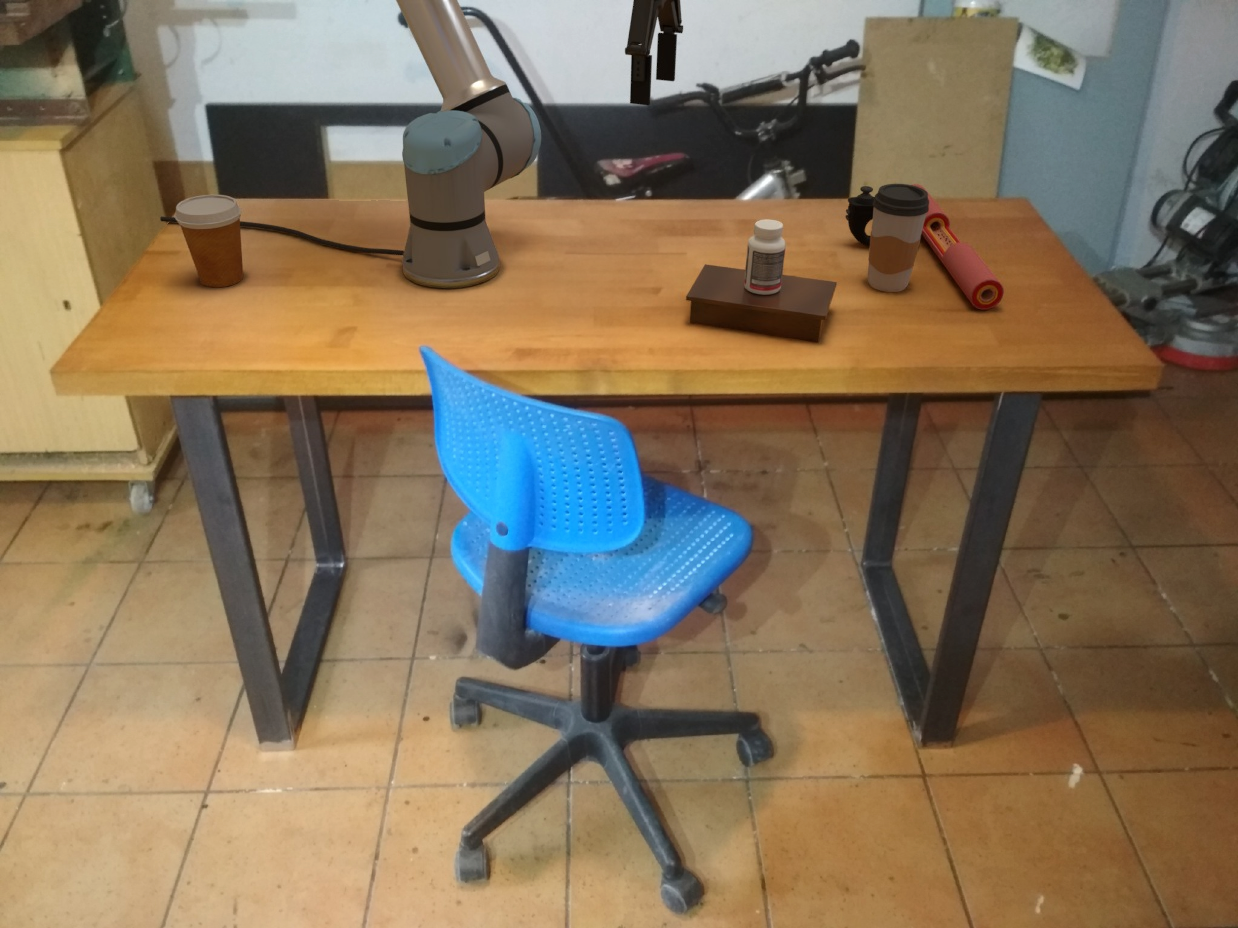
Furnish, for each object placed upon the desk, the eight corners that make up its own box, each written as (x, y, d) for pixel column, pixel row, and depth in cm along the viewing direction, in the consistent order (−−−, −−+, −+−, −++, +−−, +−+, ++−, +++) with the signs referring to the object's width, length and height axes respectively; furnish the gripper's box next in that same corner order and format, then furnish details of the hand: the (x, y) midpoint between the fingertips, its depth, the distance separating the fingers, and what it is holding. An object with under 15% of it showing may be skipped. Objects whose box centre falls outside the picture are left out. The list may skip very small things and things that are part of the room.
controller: (839, 240, 182) (847, 183, 177) (909, 239, 183) (919, 183, 178) (845, 250, 179) (853, 192, 173) (917, 249, 180) (927, 192, 174)
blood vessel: (896, 210, 195) (901, 183, 192) (923, 210, 195) (928, 183, 192) (967, 310, 160) (974, 279, 157) (1000, 310, 160) (1007, 279, 158)
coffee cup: (919, 279, 169) (936, 188, 161) (908, 299, 163) (925, 205, 155) (867, 269, 172) (882, 179, 164) (854, 289, 166) (868, 196, 157)
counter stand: (684, 324, 155) (686, 296, 152) (703, 291, 164) (705, 264, 162) (821, 344, 150) (825, 315, 148) (832, 309, 160) (836, 282, 157)
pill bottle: (788, 290, 154) (796, 226, 149) (760, 299, 152) (766, 234, 146) (764, 277, 158) (771, 214, 152) (736, 285, 155) (741, 221, 150)
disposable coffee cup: (265, 279, 165) (252, 204, 159) (209, 297, 159) (193, 221, 153) (233, 261, 171) (219, 189, 164) (178, 279, 165) (160, 204, 158)
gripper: (662, -57, 130) (655, 117, 142) (708, -82, 150) (698, 73, 162) (604, -61, 132) (601, 112, 144) (657, -85, 152) (651, 68, 164)
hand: (653, 92), depth 153 cm, fingers open, 13 cm apart
